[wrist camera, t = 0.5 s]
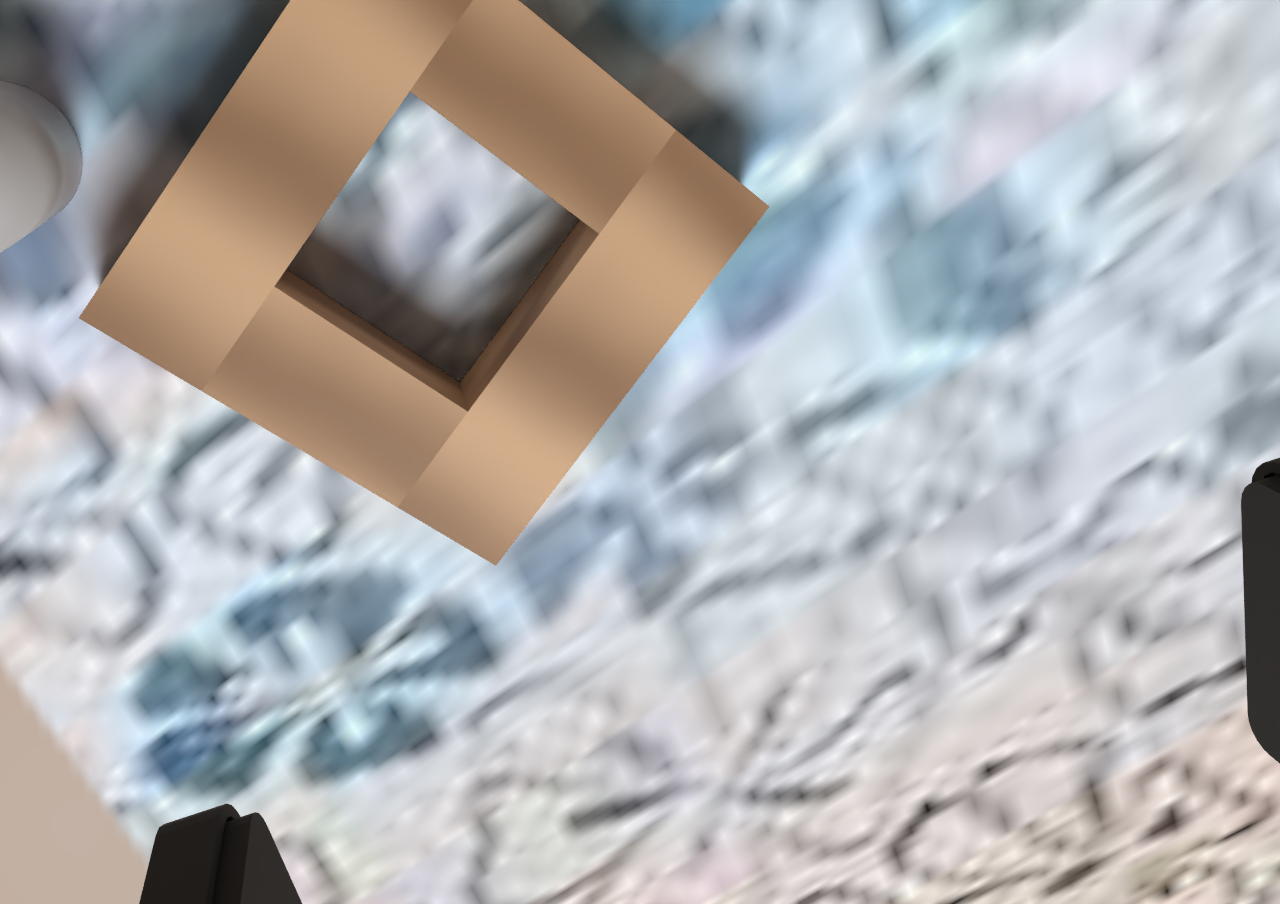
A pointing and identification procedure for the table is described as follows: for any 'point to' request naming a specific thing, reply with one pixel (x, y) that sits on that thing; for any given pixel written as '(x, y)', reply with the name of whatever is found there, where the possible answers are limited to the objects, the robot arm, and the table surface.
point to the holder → (362, 354)
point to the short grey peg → (33, 162)
